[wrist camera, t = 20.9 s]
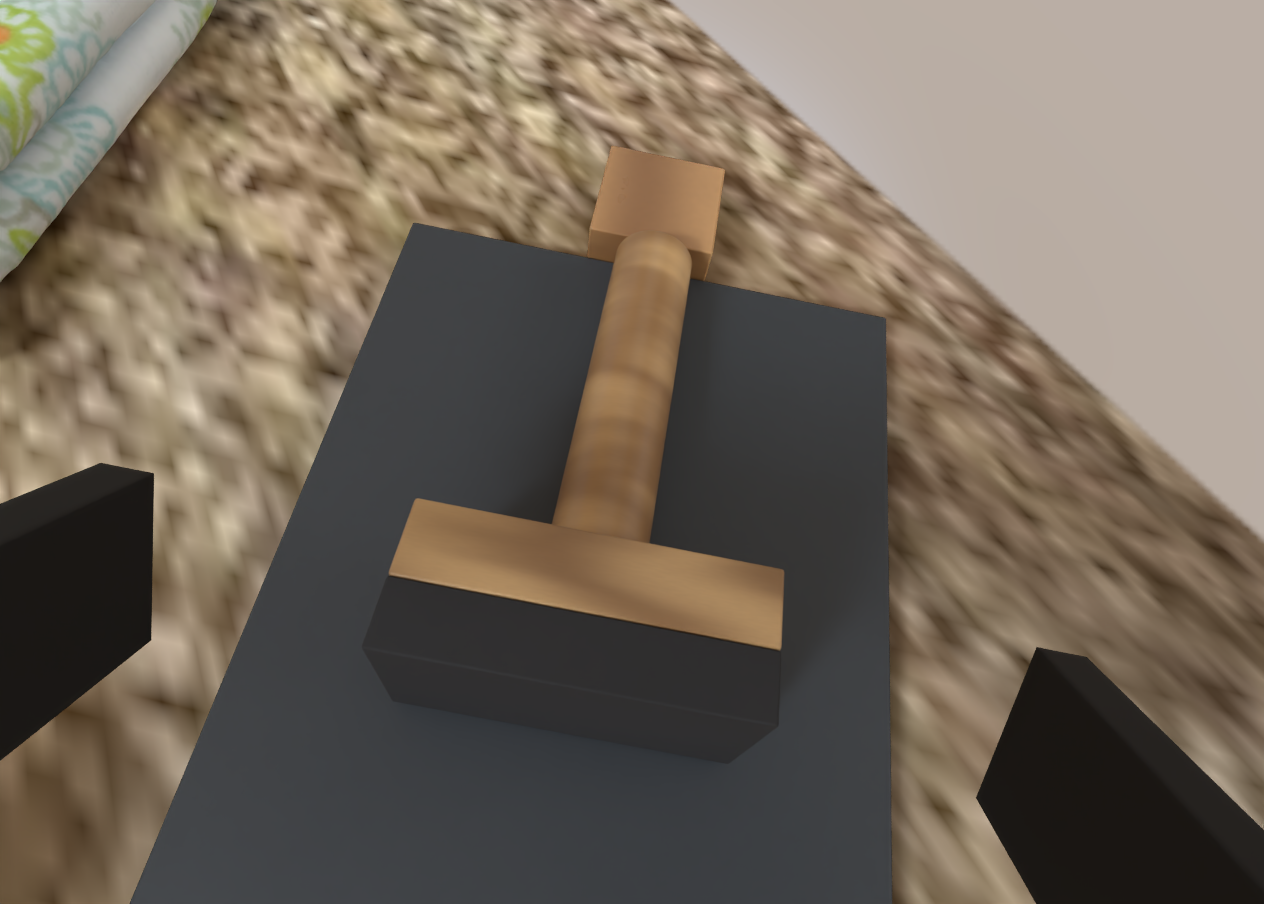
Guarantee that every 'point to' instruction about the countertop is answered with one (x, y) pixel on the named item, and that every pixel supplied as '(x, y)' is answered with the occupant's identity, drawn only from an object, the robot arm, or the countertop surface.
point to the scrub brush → (591, 573)
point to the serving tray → (529, 488)
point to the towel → (74, 96)
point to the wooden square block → (657, 204)
